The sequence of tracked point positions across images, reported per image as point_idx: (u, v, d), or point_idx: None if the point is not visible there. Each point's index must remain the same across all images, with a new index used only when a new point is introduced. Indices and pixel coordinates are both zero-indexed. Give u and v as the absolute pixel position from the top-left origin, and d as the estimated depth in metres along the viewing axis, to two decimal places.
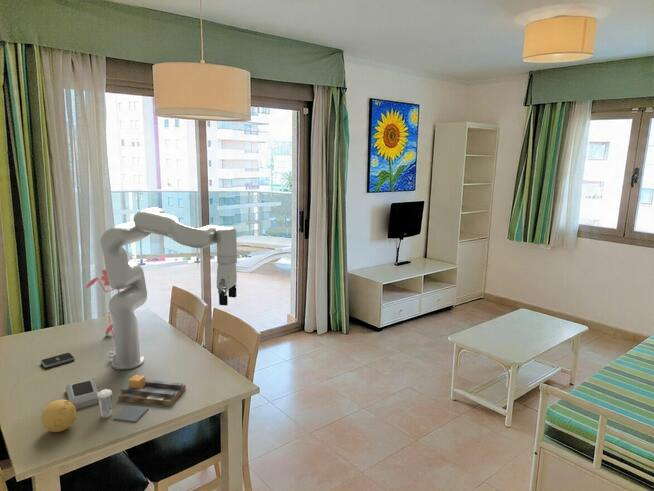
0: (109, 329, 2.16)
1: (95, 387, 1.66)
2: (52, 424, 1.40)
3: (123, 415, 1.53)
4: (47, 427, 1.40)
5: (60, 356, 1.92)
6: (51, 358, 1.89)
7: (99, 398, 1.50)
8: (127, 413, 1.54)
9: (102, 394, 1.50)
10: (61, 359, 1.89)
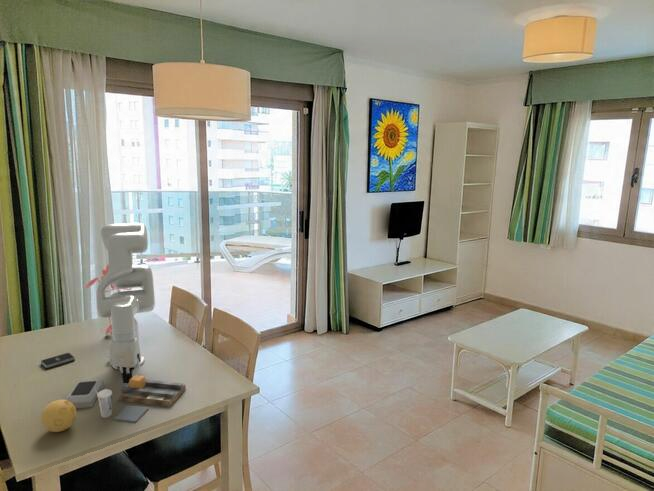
0: (109, 329, 2.16)
1: None
2: (52, 424, 1.40)
3: (123, 415, 1.53)
4: (47, 427, 1.40)
5: (60, 356, 1.91)
6: (51, 359, 1.89)
7: (99, 398, 1.50)
8: (127, 413, 1.54)
9: (102, 394, 1.50)
10: (61, 359, 1.89)
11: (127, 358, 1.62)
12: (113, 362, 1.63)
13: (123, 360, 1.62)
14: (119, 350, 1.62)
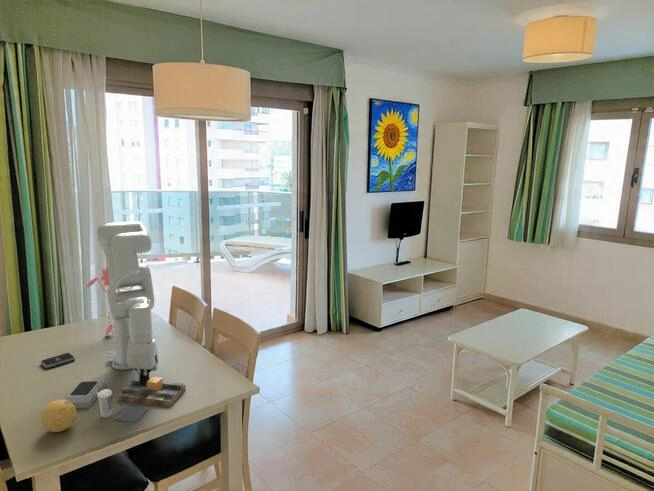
0: (109, 329, 2.16)
1: (94, 390, 1.64)
2: (52, 424, 1.40)
3: (123, 415, 1.53)
4: (47, 427, 1.40)
5: (60, 356, 1.91)
6: (51, 359, 1.89)
7: (99, 398, 1.50)
8: (127, 413, 1.54)
9: (102, 394, 1.50)
10: (61, 359, 1.89)
11: (145, 360, 1.61)
12: (131, 363, 1.62)
13: (141, 362, 1.61)
14: (137, 352, 1.61)
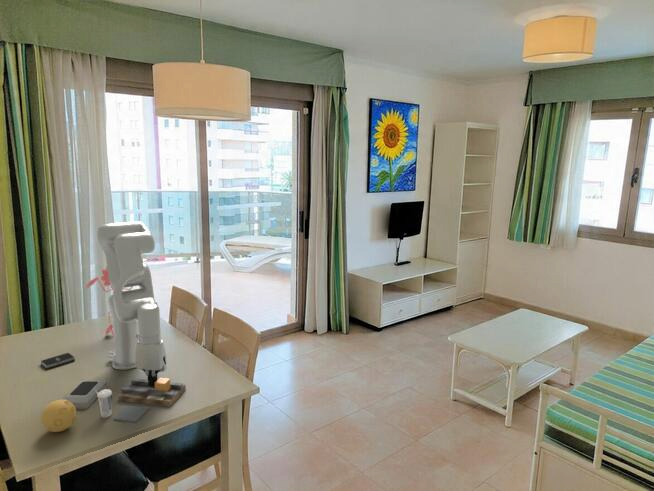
0: (109, 329, 2.16)
1: (94, 390, 1.63)
2: (52, 424, 1.40)
3: (123, 415, 1.53)
4: (47, 427, 1.40)
5: (60, 356, 1.91)
6: (51, 359, 1.89)
7: (99, 398, 1.50)
8: (127, 413, 1.54)
9: (102, 394, 1.50)
10: (62, 359, 1.89)
11: (153, 361, 1.60)
12: (139, 364, 1.62)
13: (149, 363, 1.61)
14: (145, 353, 1.60)
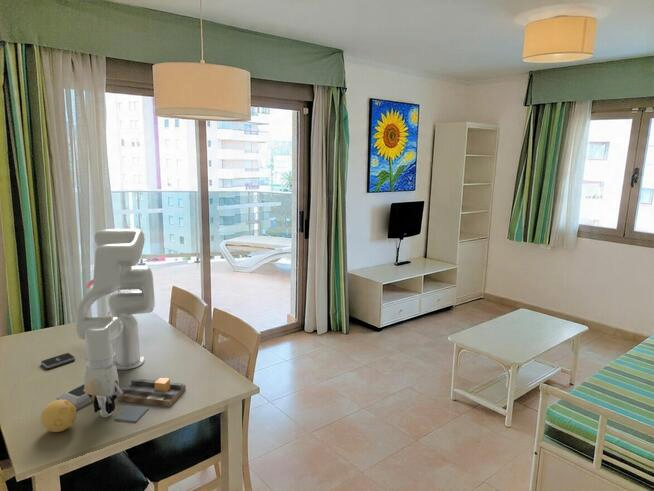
0: None
1: None
2: (52, 424, 1.40)
3: (123, 415, 1.53)
4: (47, 427, 1.40)
5: (60, 356, 1.91)
6: (51, 359, 1.89)
7: (98, 398, 1.50)
8: (127, 413, 1.54)
9: None
10: (62, 359, 1.89)
11: (104, 386, 1.48)
12: (89, 390, 1.49)
13: (99, 388, 1.48)
14: (95, 378, 1.48)
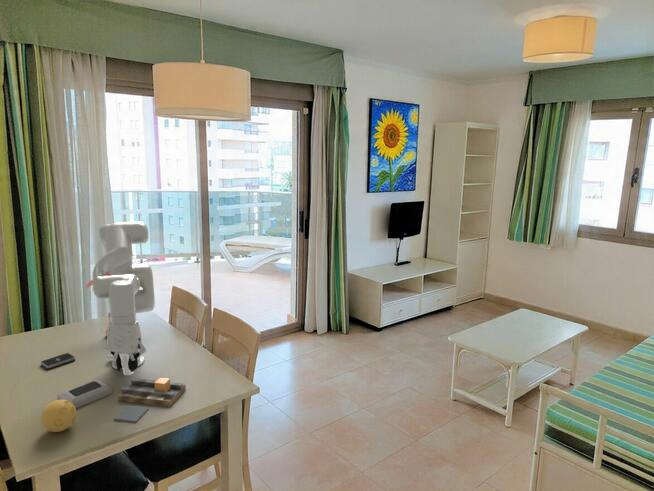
0: None
1: (88, 394, 1.61)
2: (52, 424, 1.40)
3: (123, 415, 1.53)
4: (47, 427, 1.40)
5: (60, 357, 1.91)
6: (51, 359, 1.89)
7: (121, 355, 1.48)
8: (127, 413, 1.54)
9: None
10: (62, 359, 1.89)
11: (127, 343, 1.46)
12: (112, 347, 1.47)
13: (123, 345, 1.46)
14: (118, 334, 1.45)
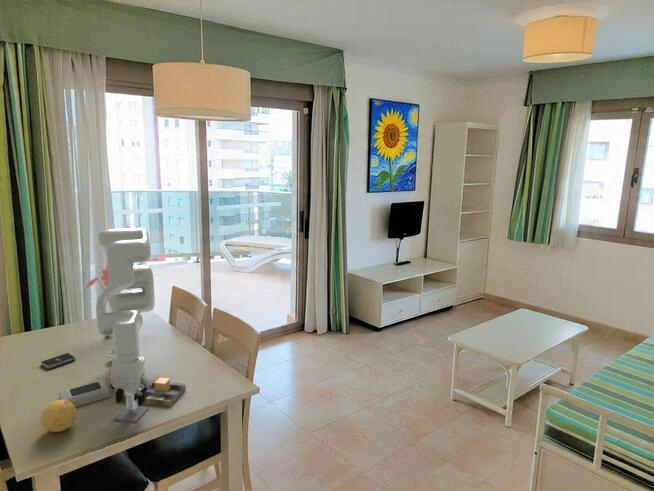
0: None
1: (85, 395, 1.60)
2: (52, 424, 1.40)
3: (123, 415, 1.53)
4: (47, 427, 1.40)
5: (60, 357, 1.91)
6: (51, 359, 1.89)
7: (126, 395, 1.51)
8: (127, 413, 1.54)
9: (129, 391, 1.51)
10: (62, 359, 1.89)
11: (130, 380, 1.48)
12: (116, 383, 1.49)
13: (126, 382, 1.49)
14: (122, 371, 1.48)
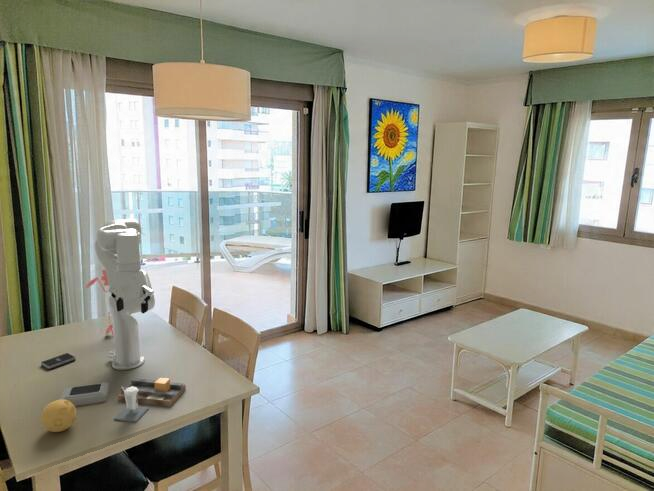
0: (109, 329, 2.16)
1: (80, 396, 1.59)
2: (52, 424, 1.40)
3: (123, 415, 1.53)
4: (47, 427, 1.40)
5: (60, 357, 1.91)
6: (52, 360, 1.88)
7: (126, 395, 1.51)
8: (127, 413, 1.54)
9: (129, 391, 1.51)
10: (63, 359, 1.89)
11: (133, 289, 1.62)
12: (119, 293, 1.63)
13: (129, 291, 1.62)
14: (124, 280, 1.61)
